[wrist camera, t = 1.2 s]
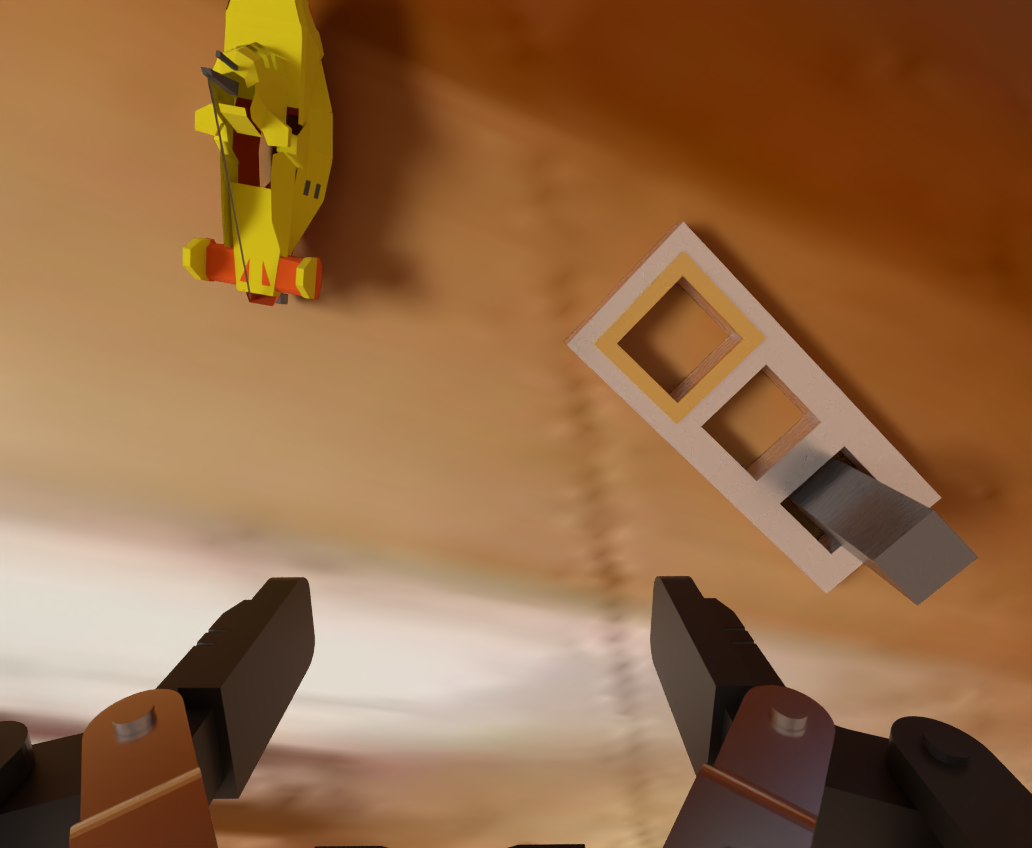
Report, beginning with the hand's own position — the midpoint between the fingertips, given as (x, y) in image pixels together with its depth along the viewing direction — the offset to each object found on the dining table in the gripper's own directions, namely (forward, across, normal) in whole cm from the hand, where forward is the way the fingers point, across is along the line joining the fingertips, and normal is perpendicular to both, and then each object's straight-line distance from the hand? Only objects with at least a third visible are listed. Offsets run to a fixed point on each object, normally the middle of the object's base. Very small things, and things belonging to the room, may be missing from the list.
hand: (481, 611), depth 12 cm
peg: (+25, -23, +7) cm, 35 cm away
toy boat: (+25, +12, -15) cm, 32 cm away
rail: (+25, -17, +1) cm, 30 cm away
